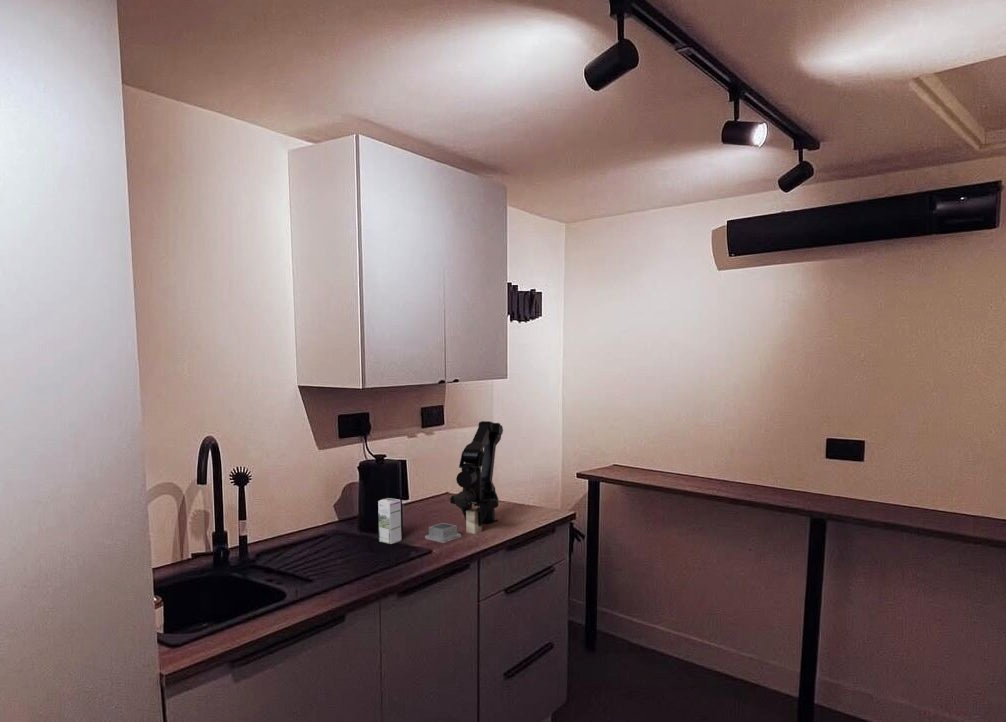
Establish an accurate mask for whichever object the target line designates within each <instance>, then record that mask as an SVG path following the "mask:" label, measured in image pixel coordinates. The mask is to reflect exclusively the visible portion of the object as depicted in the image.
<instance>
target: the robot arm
mask: <svg viewBox="0 0 1006 722" xmlns="http://www.w3.org/2000/svg"><path fill="white" fill-rule="evenodd" d="M503 432H504V427H503V425H501V424H500V422H493V421H488V420H487V421H486V420H481V421H479V422H478V428H477V429H476V432H475V433H474V436H473V439H472V441H471V443H468V444H467V445H466V446H465V447H464V449H463V450H462V452H461V457H460V460H459V466H458V468H459V469H461V471H460V472H459V473H458V474H457V476H456V483H457V485H458V486H459V487H460V488H462V490H461V491H460V492H458V493H456V494H452V495H451V496H450V499H449V500H450V504H453V505H455V506H456V507H458V508H459V509H460V510H461V512H462V514H463V516H464V519H465V521H466V510H469V509H473V506H474V507H477V508H475V509H476V511H477V512H478V526H481V525H482V526H483V524H487V525H488V524H491V523H493V522H497V521H499V519H498V518H495V517H496V514H495V510H496V508H498V507H499V497H498V493H497V492H496V487H495V484H494V482H493V476H494V466H495V459H496V458H495V457H496V449H497V448H496V447H497V445H498V444H499V442H500V441H501V439H502V438H501V437H502V435H503V434H504V433H503Z"/></svg>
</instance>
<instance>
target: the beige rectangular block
mask: <svg viewBox="0 0 1006 722" xmlns="http://www.w3.org/2000/svg"><path fill="white" fill-rule="evenodd" d="M476 509H477V508H476V507H475V508H473V507H472V509H469V510H466V520H465V524H466V525H465V527H466V531H465V532H466V533H468V534H471V535H472V534H473V535H476V534H479V533H482V531H483V524H482V525H481V526H478V512H477V511H476Z"/></svg>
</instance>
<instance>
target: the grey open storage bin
mask: <svg viewBox="0 0 1006 722" xmlns="http://www.w3.org/2000/svg"><path fill="white" fill-rule="evenodd" d="M424 538H425V540H430V541H432V542H433V541H434V542H437V543H442V544H444V543H447V542H450V541H453V540H456V539H459V538H462V534H461V533H460V532H459V533H458V525H455V524H450V523H446V522H440V523H437V524H434V525H432V526H431V525H430V526H428V534H427V535H424Z"/></svg>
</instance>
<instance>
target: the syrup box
mask: <svg viewBox="0 0 1006 722" xmlns="http://www.w3.org/2000/svg"><path fill="white" fill-rule="evenodd" d="M377 503H378V504H377V506H378V511H377V512H378V541H379V543H384V544H387V545H392V544H396V543H399V542H401V541H402V514H401V513H402V509H401V503H402V502H401V499H399V498H398V499H397V498H392V497H391V498H390V497H386V498H381V499H380V500H378V501H377Z"/></svg>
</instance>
